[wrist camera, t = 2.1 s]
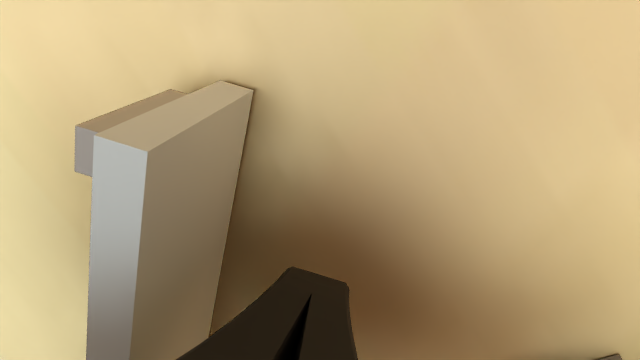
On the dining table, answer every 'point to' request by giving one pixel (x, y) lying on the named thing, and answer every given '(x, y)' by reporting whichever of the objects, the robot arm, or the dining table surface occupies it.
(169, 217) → the grey long bar
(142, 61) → the dining table surface
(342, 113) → the dining table surface
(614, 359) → the camera body
